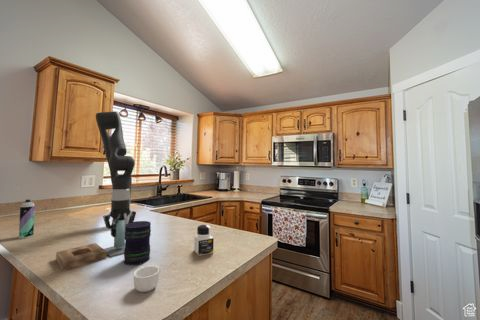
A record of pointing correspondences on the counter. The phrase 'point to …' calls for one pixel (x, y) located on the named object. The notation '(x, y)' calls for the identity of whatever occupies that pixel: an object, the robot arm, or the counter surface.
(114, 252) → the mat
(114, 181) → the robot arm
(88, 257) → the pocket block
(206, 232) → the medicine bottle
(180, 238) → the counter surface
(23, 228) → the spray can
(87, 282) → the counter surface
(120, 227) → the peg
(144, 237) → the storage jar
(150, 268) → the teacup
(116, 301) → the counter surface
